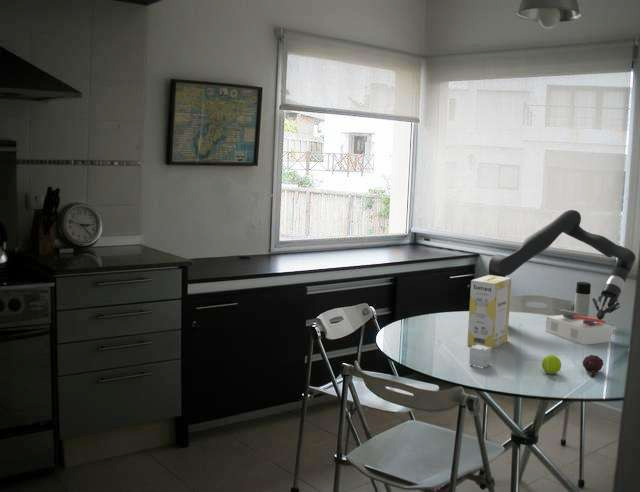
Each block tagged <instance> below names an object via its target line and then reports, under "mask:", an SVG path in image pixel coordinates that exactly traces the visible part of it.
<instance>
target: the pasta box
mask: <svg viewBox="0 0 640 492" xmlns="http://www.w3.org/2000/svg"><path fill="white" fill-rule="evenodd" d="M511 288H512V277H507V276H506V277H501V276H493V275H489V274H487V275H485V276H484V275H483V276H481V277H477V278H474V279H471V280H470V292H469V293H470V295H469V296H470V297H469V309H468V310H469V311H468V312H469V314H468V329H467V342H466V343H467V344H468V345H467V344H466V345H467V346H469V345H473V346H475V345H477V344H478V345H482V346H487V347H491V350H493V349H494V348H497V347H498V346H500V345H502V344H504V343H506V342H508V336H509V334H508V333H509V323H510V322H509V320H510V319H509V318H510V307H511V305H510V304H511V291H512V290H511ZM473 346H472V347H473Z"/></svg>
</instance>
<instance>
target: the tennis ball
mask: <svg viewBox="0 0 640 492" xmlns="http://www.w3.org/2000/svg"><path fill="white" fill-rule="evenodd" d="M541 368H542V370H543V371H544V372H545V373H546V374H549V375H555V374H557V373H559V372H560V371H561V369H562V361H561V359H560V358H559V357H558V356H556V355H554V354H551V355H550V354H549V355H546V356H544V358H543V359H542V361H541Z"/></svg>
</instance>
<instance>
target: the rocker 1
mask: <svg viewBox="0 0 640 492" xmlns="http://www.w3.org/2000/svg"><path fill="white" fill-rule="evenodd" d="M553 311H554V312H557V313H560V314H568V315H572V316H574V314H575V315H581V316H585V315H584V314H581V313H578V312H574V311H573V310H572V311H571V310H566V309H561V308H556V307H554V308H553Z"/></svg>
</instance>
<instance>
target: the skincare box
mask: <svg viewBox="0 0 640 492" xmlns="http://www.w3.org/2000/svg"><path fill="white" fill-rule="evenodd" d="M491 354H492V349H491V347H487V346H482V345H478V344H477V345H475V346H470V348H469V359H468V360H469V361H468V363H469V364H471V365H475V366H480V367H485V366H487V367H489V366H491ZM469 364H468V365H469ZM488 365H489V366H488ZM485 368H486V367H485Z"/></svg>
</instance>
